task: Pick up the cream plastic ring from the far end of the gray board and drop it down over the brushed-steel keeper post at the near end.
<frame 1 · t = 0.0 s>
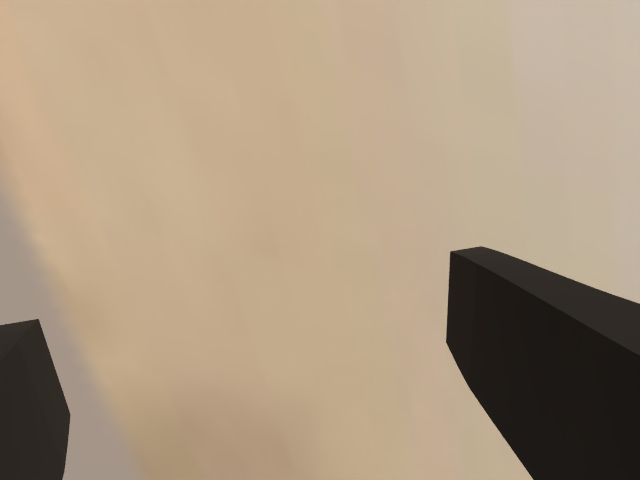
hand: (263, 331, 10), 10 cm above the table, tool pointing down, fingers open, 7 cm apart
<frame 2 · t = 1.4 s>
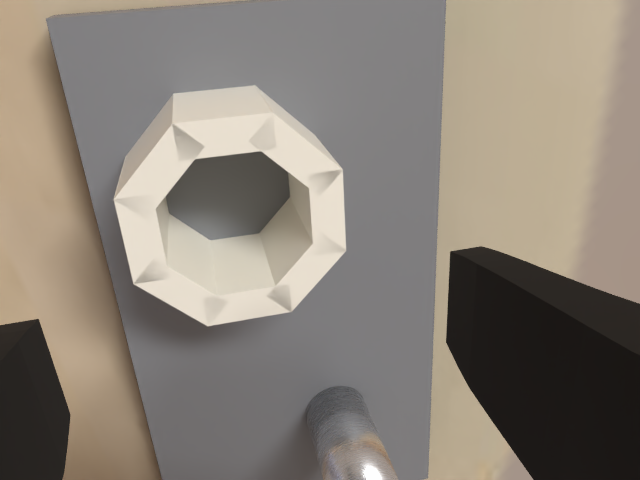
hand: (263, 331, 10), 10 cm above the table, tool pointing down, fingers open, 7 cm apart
gray board: (282, 292, 21), on the table
steel keeper post: (335, 410, 23), resting on gray board
cream ring: (227, 181, 18), point 1 cm above the table, touching gray board
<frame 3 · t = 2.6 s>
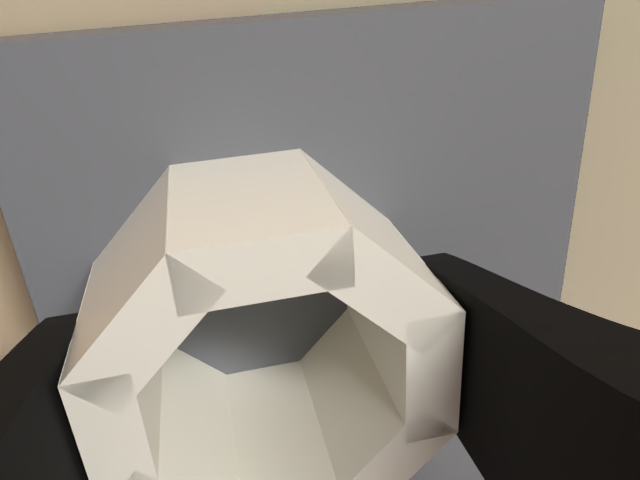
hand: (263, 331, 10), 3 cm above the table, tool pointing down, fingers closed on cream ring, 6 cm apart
gray board: (326, 423, 15), on the table
cream ring: (253, 291, 11), point 1 cm above the table, touching gray board, gripper
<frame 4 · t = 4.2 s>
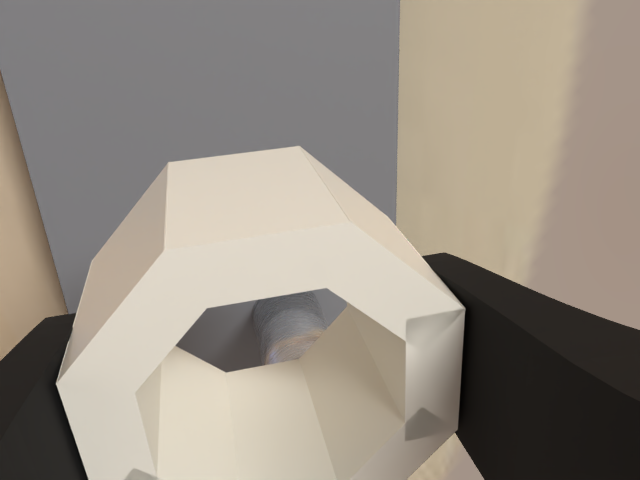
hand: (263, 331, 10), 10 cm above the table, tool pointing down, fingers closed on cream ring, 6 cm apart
gray board: (224, 172, 19), on the table
steel keeper post: (286, 313, 20), resting on gray board
cream ring: (252, 289, 11), point 8 cm above the table, touching gripper
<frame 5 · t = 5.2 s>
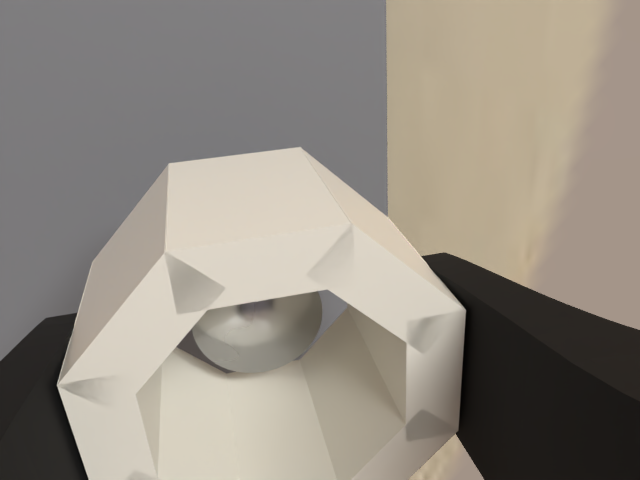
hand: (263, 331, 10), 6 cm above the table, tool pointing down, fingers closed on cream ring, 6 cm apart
gray board: (138, 11, 13), on the table
steel keeper post: (235, 222, 14), resting on gray board
cream ring: (253, 290, 11), point 5 cm above the table, touching gripper
when the fingers open (4 cm above the table, at t = 6.1 s): cream ring drops 2 cm, resting on gray board.
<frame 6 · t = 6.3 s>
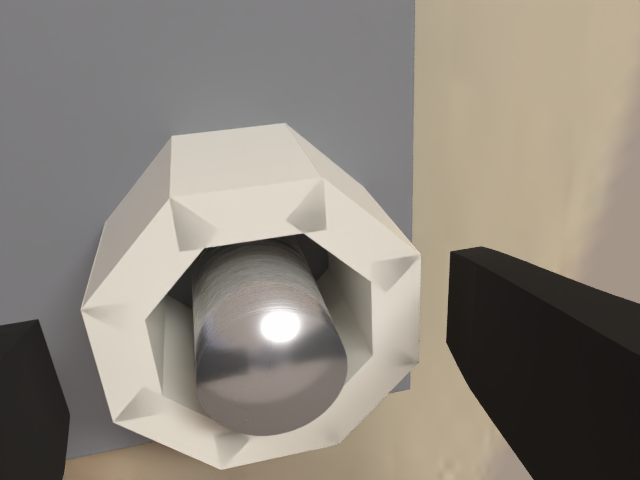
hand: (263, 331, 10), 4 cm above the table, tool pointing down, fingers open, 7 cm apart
gray board: (136, 18, 12), on the table
steel keeper post: (244, 251, 13), resting on gray board
cream ring: (245, 250, 13), point 1 cm above the table, touching gray board
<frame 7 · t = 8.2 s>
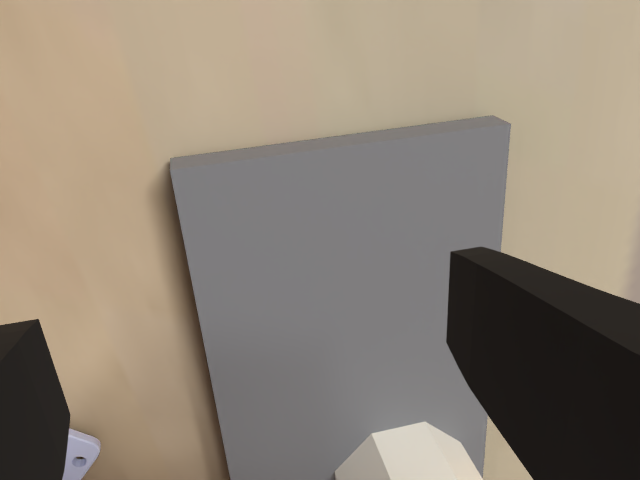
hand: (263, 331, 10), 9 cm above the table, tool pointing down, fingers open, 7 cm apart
gray board: (352, 374, 23), on the table
cream ring: (398, 475, 25), point 1 cm above the table, touching gray board
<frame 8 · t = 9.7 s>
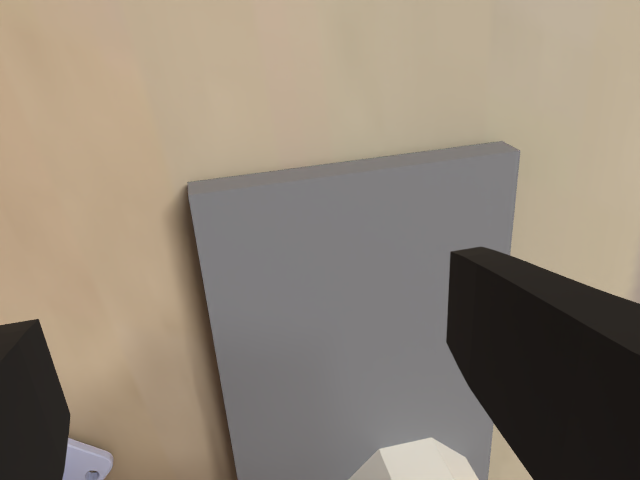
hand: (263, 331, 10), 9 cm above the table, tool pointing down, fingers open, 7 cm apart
gray board: (361, 391, 24), on the table
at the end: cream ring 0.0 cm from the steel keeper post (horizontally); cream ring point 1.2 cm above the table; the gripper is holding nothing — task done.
